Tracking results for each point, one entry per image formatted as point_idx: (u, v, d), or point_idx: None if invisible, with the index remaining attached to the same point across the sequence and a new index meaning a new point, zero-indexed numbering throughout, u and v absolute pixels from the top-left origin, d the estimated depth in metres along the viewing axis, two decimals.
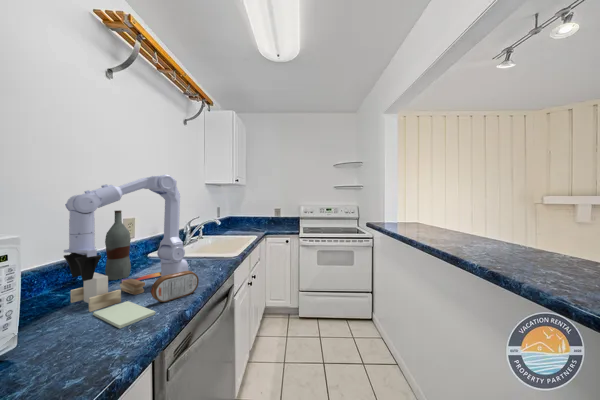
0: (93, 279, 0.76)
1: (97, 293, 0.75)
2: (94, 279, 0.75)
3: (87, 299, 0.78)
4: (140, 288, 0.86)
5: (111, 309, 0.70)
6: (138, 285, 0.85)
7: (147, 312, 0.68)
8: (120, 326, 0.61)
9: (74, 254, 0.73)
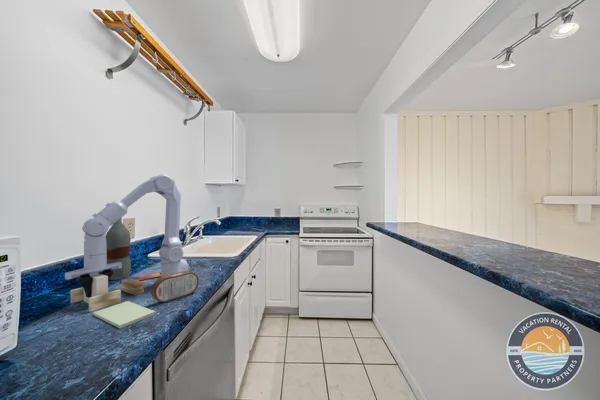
0: (93, 279, 0.76)
1: (97, 293, 0.75)
2: (94, 279, 0.75)
3: (87, 299, 0.78)
4: (140, 288, 0.86)
5: (111, 309, 0.70)
6: (138, 285, 0.85)
7: (147, 312, 0.68)
8: (120, 326, 0.61)
9: (101, 272, 0.80)
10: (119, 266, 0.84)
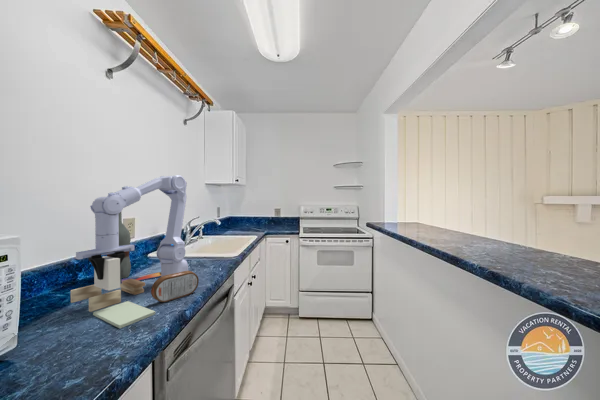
0: (104, 261, 0.72)
1: (109, 276, 0.71)
2: (106, 261, 0.71)
3: (98, 284, 0.74)
4: (140, 288, 0.86)
5: (111, 309, 0.70)
6: (138, 285, 0.85)
7: (147, 312, 0.68)
8: (120, 326, 0.61)
9: (113, 254, 0.76)
10: (131, 248, 0.79)
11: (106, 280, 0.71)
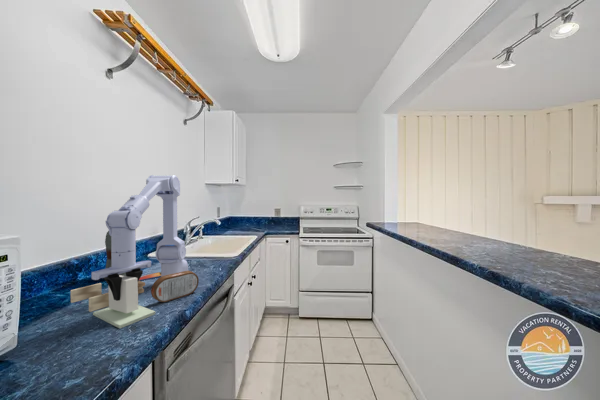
0: (121, 282, 0.67)
1: (127, 297, 0.66)
2: (122, 281, 0.67)
3: (114, 306, 0.69)
4: (140, 288, 0.86)
5: (111, 309, 0.70)
6: (138, 285, 0.85)
7: (147, 312, 0.68)
8: (120, 326, 0.61)
9: (129, 271, 0.71)
10: (148, 265, 0.74)
11: (124, 302, 0.66)
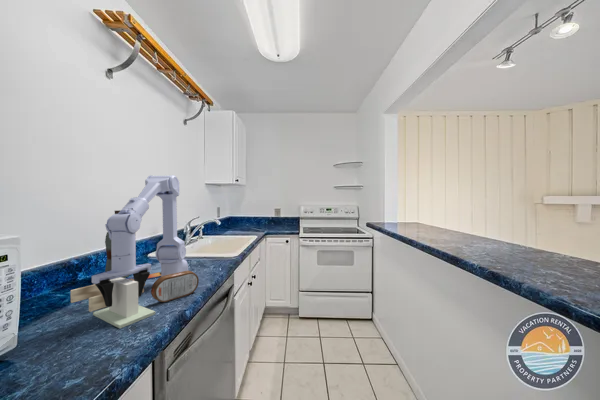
0: (122, 285, 0.67)
1: (127, 302, 0.66)
2: (123, 285, 0.66)
3: (114, 308, 0.69)
4: None
5: None
6: None
7: (147, 312, 0.68)
8: (120, 326, 0.61)
9: (136, 273, 0.73)
10: (148, 268, 0.74)
11: (124, 306, 0.66)
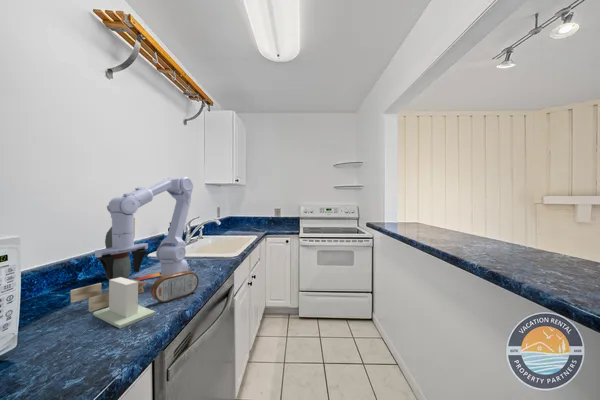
0: (122, 285, 0.67)
1: (127, 301, 0.66)
2: (123, 285, 0.66)
3: (114, 308, 0.69)
4: (140, 288, 0.86)
5: None
6: (138, 285, 0.85)
7: (147, 312, 0.68)
8: (120, 326, 0.61)
9: (134, 251, 0.81)
10: (145, 247, 0.83)
11: (124, 306, 0.66)
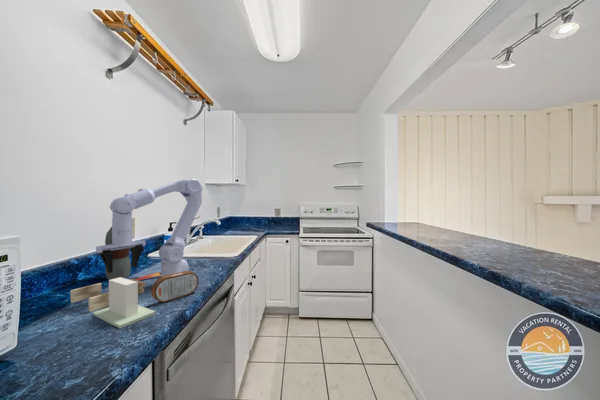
0: (121, 285, 0.67)
1: (127, 302, 0.66)
2: (123, 285, 0.66)
3: (114, 308, 0.69)
4: (140, 288, 0.86)
5: None
6: (138, 285, 0.85)
7: (147, 312, 0.68)
8: (120, 326, 0.61)
9: (133, 247, 0.87)
10: (143, 244, 0.89)
11: (124, 306, 0.66)
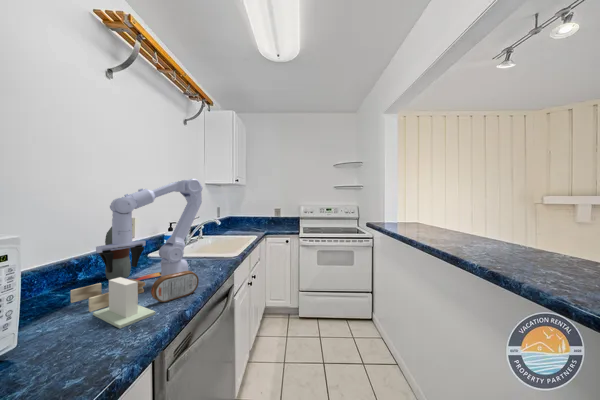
0: (121, 285, 0.67)
1: (127, 302, 0.66)
2: (123, 285, 0.66)
3: (114, 308, 0.69)
4: (140, 288, 0.86)
5: None
6: (138, 285, 0.85)
7: (147, 312, 0.68)
8: (120, 326, 0.61)
9: (133, 247, 0.87)
10: (143, 244, 0.89)
11: (124, 306, 0.66)
